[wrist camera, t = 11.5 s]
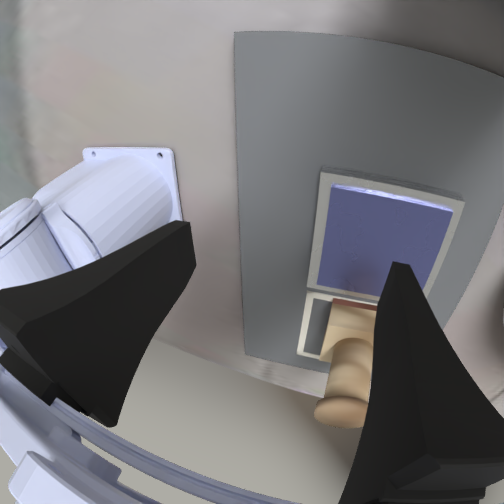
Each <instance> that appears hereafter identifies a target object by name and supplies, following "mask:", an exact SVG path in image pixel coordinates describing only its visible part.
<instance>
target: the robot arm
mask: <svg viewBox="0 0 504 504" xmlns="http://www.w3.org/2000/svg"><path fill="white" fill-rule="evenodd" d="M160 153H161V154H162V155H163V157H161V156H160ZM83 157H84V161H82V162H81V163H79V164H77V165H76V166H74V167H73V168H71V169H69V170H68V171H66V172H65V173H63V174H62V175H60V176H59V177H57V178H56V179H54V180H53V181H51V182H50V183H48V184H47V185H45V186H44V187H42V188H41V189H40V190H39V191H38V192H37V193H36V194H35V195H34V196H33V198H32V199H30V198H23V199H21V200H19V201H17V202H15V203H14V204H12V205H11V206H9V207H8V208H6V209H5V210H3V211H2V212H0V445H1V446H2V448H3V449H4V450H5V452H6V453H7V454H8V456H9V457H10V458H11V460H12V461H13V462H14V463H15V465H16V466H17V468H16V470H15V471H14V473H13V475H12V476H11V478H10V480H9V482H8V488H9V490H10V492H11V494H12V495H13V496H14V497H15V499H16V501H15V503H14V504H161V503H159V502H157V501H155V500H153V499H151V498H149V497H147V496H145V495H143V494H141V493H139V492H137V491H135V490H133V489H131V488H129V487H127V486H125V485H124V484H122V483H120V482H118V481H117V479H118V477H119V475H120V474H121V469H120V468H118V467H117V466H115V465H113V464H112V463H110V462H108V461H107V460H105V459H104V458H102V457H101V456H99V455H98V454H96V453H95V452H93V451H92V450H90V449H89V448H87V447H86V446H84V445H83V444H82V443H81V437H80V436H82V437H83V438H85V439H87V440H88V441H89V442H91V443H93V444H94V445H96V446H97V447H99V448H101V449H102V450H104V451H105V452H107V453H109V454H111V455H112V456H114V457H116V458H117V459H119V460H121V461H123V462H125V463H126V464H128V465H130V466H132V467H134V468H136V469H138V470H140V471H141V472H143V473H145V474H147V475H149V476H152V477H153V478H155V479H158V480H160V481H162V482H164V483H166V484H168V485H171V486H173V487H175V488H178V489H180V490H182V491H184V492H187V493H189V494H192V495H194V496H197V497H200V498H202V499H205V500H207V501H210V502H213V503H216V504H300V503H295V502H291V501H286V500H282V499H278V498H273V497H269V496H266V495H262V494H258V493H255V492H251V491H247V490H245V489H241V488H238V487H235V486H232V485H228V484H226V483H223V482H220V481H217V480H214V479H211V478H208V477H206V476H203V475H201V474H198V473H195V472H193V471H191V470H188V469H186V468H183V467H181V466H178V465H176V464H174V463H171V462H169V461H167V460H165V459H163V458H160V457H158V456H156V455H154V454H152V453H150V452H148V451H146V450H144V449H142V448H140V447H138V446H136V445H134V444H132V443H130V442H128V441H126V440H125V439H123V438H121V437H119V436H117V435H115V434H114V433H112V432H110V431H108V430H106V429H105V428H103V427H102V426H100V425H98V424H96V423H95V422H93V421H92V420H90V419H89V418H87V417H85V416H84V415H82V414H81V413H83V414H85V415H86V416H89V417H91V418H93V419H94V420H96V421H98V422H99V423H101V424H103V425H104V426H106V427H114V426H116V425H117V422H118V419H119V415H120V412H121V409H122V406H123V403H124V400H125V397H126V395H127V392H128V389H129V387H130V384H131V382H132V379H133V377H134V375H135V372H136V370H137V368H138V366H139V363H140V361H141V359H142V357H143V355H144V353H145V351H146V349H147V347H148V345H149V343H150V341H151V339H152V337H153V336H154V334H155V332H156V331H157V329H158V328H159V326H160V325H161V323H162V322H163V320H164V319H165V317H166V316H167V314H168V313H169V311H170V310H171V308H172V307H173V305H174V304H175V303H176V301H177V300H178V298H179V297H180V295H181V294H182V292H183V291H184V289H185V287H186V286H187V284H188V282H189V280H190V278H191V276H192V274H193V272H194V269H195V267H196V259H195V253H194V246H193V240H192V233H191V226H190V222H185V221H183V220H182V213H181V206H180V199H179V192H178V184H177V177H176V169H175V161H174V154H173V151H172V150H171V149H169V148H151V147H90V148H85V149H84V150H83ZM80 412H81V413H80ZM502 479H504V418H503V417H502V416H501V415H500V414H499V413H498V411H497V410H496V409H495V408H494V406H493V405H492V404H491V403H490V401H489V400H488V399H487V398H486V396H485V395H484V394H483V392H482V391H481V390H480V389H479V387H478V386H477V384H476V383H475V381H474V380H473V379H472V377H471V376H470V374H469V373H468V372H467V370H466V369H465V367H464V366H463V364H462V363H461V361H460V359H459V358H458V356H457V354H456V353H455V351H454V350H453V348H452V346H451V345H450V343H449V341H448V340H447V338H446V336H445V334H444V332H443V330H442V329H441V327H440V325H439V323H438V321H437V319H436V317H435V315H434V313H433V311H432V309H431V307H430V305H429V303H428V301H427V299H426V297H425V295H424V293H423V291H422V289H421V287H420V284H419V282H418V280H417V278H416V276H415V274H414V272H413V270H412V268H411V266H410V265H409V264H404V263H400V262H395V261H393V262H392V265H391V268H390V271H389V274H388V276H387V279H386V282H385V285H384V288H383V291H382V293H381V296H380V299H379V301H378V304H377V311H376V318H375V326H374V339H373V361H372V378H371V390H370V397H369V403H368V408H367V412H366V417H365V421H364V426H363V430H362V434H361V438H360V441H359V445H358V449H357V452H356V455H355V459H354V462H353V465H352V468H351V471H350V474H349V477H348V480H347V482H346V485H345V488H344V491H343V493H342V496H341V498H340V501H339V503H338V504H479V500H480V499H483V498H484V497H485V489H486V487H487V486H489V485H491V484H494V483H496V482H498V481H500V480H502ZM500 504H504V503H500Z"/></svg>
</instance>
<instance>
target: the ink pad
mask: <svg viewBox="0 0 504 504" xmlns="http://www.w3.org/2000/svg"><path fill="white" fill-rule="evenodd" d="M464 205H465V201H464V199H463V197H462V195H461V194H460V193H457V192H453V191H449V190H445V189H442V188H438V187H433V186H429V185H425V184H421V183H416V182H412V181H408V180H403V179H398V178H394V177H389V176H384V175H379V174H374V173H368V172H363V171H358V170H352V169H346V168H340V167H334V166H328V165H323V167H322V170H321V175H320V185H319V194H318V203H317V212H316V221H315V229H314V237H313V245H312V252H311V260H310V267H309V274H308V281H307V287H309V288H314V289H319V290H324V291H329V292H335V293H340V294H345V295H350V296H355V297H361V298H366V299H371V300H377V301H379V299H380V296H381V293H382V291H383V288H384V285H385V282H386V279H387V276H388V274H389V271H390V268H391V265H392V262H393V261H395V262H400V263H404V264H409V265H410V266H411V268H412V270H413V272H414V274H415V276H416V278H417V280H418V282H419V284H420V287H421V289H422V291H423V293H424V295H425V297H426V299H427V296H428V294H429V292H430V290H431V288H432V286H433V284H434V281H435V279H436V277H437V275H438V272H439V270H440V268H441V266H442V263H443V261H444V258H445V256H446V254H447V251H448V249H449V246H450V244H451V241H452V238H453V236H454V233H455V230H456V228H457V225H458V222H459V219H460V216H461V214H462V211H463V208H464Z"/></svg>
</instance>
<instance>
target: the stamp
mask: <svg viewBox="0 0 504 504" xmlns="http://www.w3.org/2000/svg"><path fill="white" fill-rule="evenodd" d="M376 311H377V306H376V305H370V304H365V303H359V302H354V301H348V300H343V299H337V298H333V302H332V306H331V310H330V314H329V319H328V323H327V327H326V331H325V335H324V339H323V344H322V349H321V353H320V358H319V361H325V362H330V363H331V366H330V371H329V376H328V381H327V385H326V390H325V395H324V398H322V399H321V400H319V401H318V402H317V404H316V408H315V413H314V416H315V418H316V419H317V420H318V421H319V422H321V423H324V424H326V425H329V426H333V427H338V428H357V427H362V426H364V421H365V417H366V412H367V408H368V396H369V388H370V380H371V371H372V361H373V339H374V326H375V318H376Z"/></svg>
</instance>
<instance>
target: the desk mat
mask: <svg viewBox="0 0 504 504" xmlns="http://www.w3.org/2000/svg"><path fill="white" fill-rule="evenodd" d="M234 57H235V99H236V136H237V168H238V198H239V225H240V251H241V276H242V299H243V322H244V343H245V354H246V355H250V356H254V357H257V358H261V359H265V360H270V361H274V362H278V363H282V364H286V365H291V366H295V367H300V368H304V369H309V370H314V371H319V372H324V373H329V371H330V366H331V363H330V362H325V361H319V358H320V353H321V349H322V344H323V339H324V335H325V331H326V327H327V323H328V319H329V314H330V310H331V306H332V302H333V298H337V299H343V300H348V301H354V302H359V303H365V304H370V305H376V306H377V304H378V301H377V300H371V299H366V298H361V297H355V296H350V295H345V294H340V293H335V292H329V291H324V290H319V289H314V288H309V287H307V281H308V274H309V267H310V260H311V252H312V245H313V237H314V229H315V221H316V212H317V203H318V194H319V185H320V175H321V170H322V167H323V165H328V166H334V167H340V168H346V169H352V170H358V171H363V172H368V173H374V174H379V175H384V176H389V177H394V178H398V179H403V180H408V181H412V182H416V183H421V184H425V185H429V186H433V187H438V188H442V189H445V190H449V191H453V192H457V193H460V194H461V195H462V197H463V199H464V201H465V205H464V208H463V211H462V214H461V216H460V219H459V222H458V225H457V228H456V230H455V233H454V236H453V238H452V241H451V244H450V246H449V249H448V251H447V254H446V256H445V258H444V261H443V263H442V266H441V268H440V270H439V272H438V275H437V277H436V279H435V281H434V284H433V286H432V288H431V290H430V292H429V294H428V296H427V301H428V303H429V305H430V307H431V309H432V311H433V313H434V315H435V317H436V319H437V321H438V323H439V325H440V327H441V329H442V330H443V328H444V327H445V325H446V324H447V322H448V320H449V318H450V317H451V315H452V313H453V312H454V310H455V308H456V306H457V305H458V303H459V301H460V299H461V297H462V296H463V294H464V292H465V290H466V288H467V286H468V284H469V282H470V280H471V278H472V276H473V274H474V272H475V270H476V268H477V266H478V264H479V262H480V260H481V258H482V256H483V253H484V251H485V249H486V247H487V244H488V242H489V240H490V238H491V235H492V233H493V230H494V228H495V225H496V223H497V220H498V218H499V215H500V212H501V210H502V207H503V204H504V77H501V76H499V75H497V74H494V73H492V72H489V71H486V70H484V69H481V68H478V67H476V66H473V65H470V64H467V63H464V62H461V61H458V60H455V59H452V58H449V57H445V56H442V55H438V54H435V53H431V52H427V51H424V50H420V49H416V48H411V47H407V46H403V45H398V44H393V43H388V42H383V41H377V40H371V39H365V38H358V37H351V36H343V35H334V34H323V33H310V32H290V31H244V32H234ZM371 378H372V371H371ZM370 381H371V380H370Z"/></svg>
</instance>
